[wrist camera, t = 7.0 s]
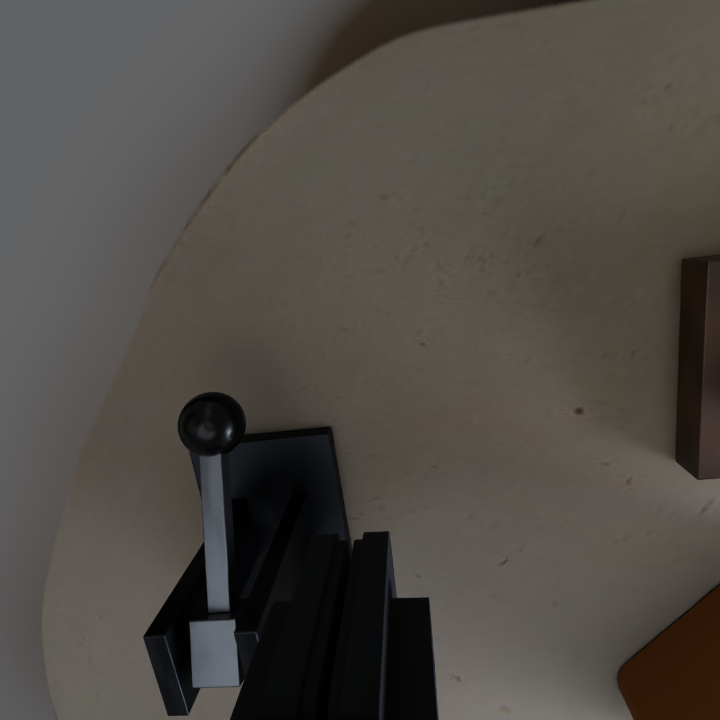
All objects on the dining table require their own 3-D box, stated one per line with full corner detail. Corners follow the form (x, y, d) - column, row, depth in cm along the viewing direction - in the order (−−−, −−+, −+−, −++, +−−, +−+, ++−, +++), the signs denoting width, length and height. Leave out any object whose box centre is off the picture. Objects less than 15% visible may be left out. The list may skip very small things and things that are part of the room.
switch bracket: (196, 439, 30) (72, 563, 19) (331, 426, 29) (286, 549, 18) (234, 592, 33) (147, 779, 22) (358, 586, 32) (334, 778, 21)
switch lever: (195, 396, 25) (162, 394, 22) (253, 390, 24) (227, 387, 21) (209, 656, 23) (176, 694, 20) (271, 653, 23) (247, 692, 20)
